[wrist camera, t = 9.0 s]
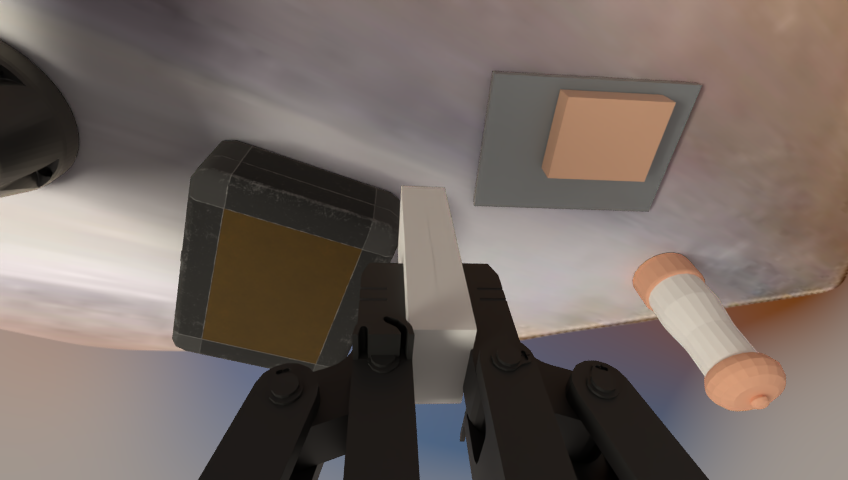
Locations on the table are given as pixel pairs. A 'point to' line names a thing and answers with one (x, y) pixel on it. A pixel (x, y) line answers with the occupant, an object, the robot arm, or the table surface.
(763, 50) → the table surface
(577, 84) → the slate board
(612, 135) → the tile
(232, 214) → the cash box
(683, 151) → the table surface
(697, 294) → the salt shaker
